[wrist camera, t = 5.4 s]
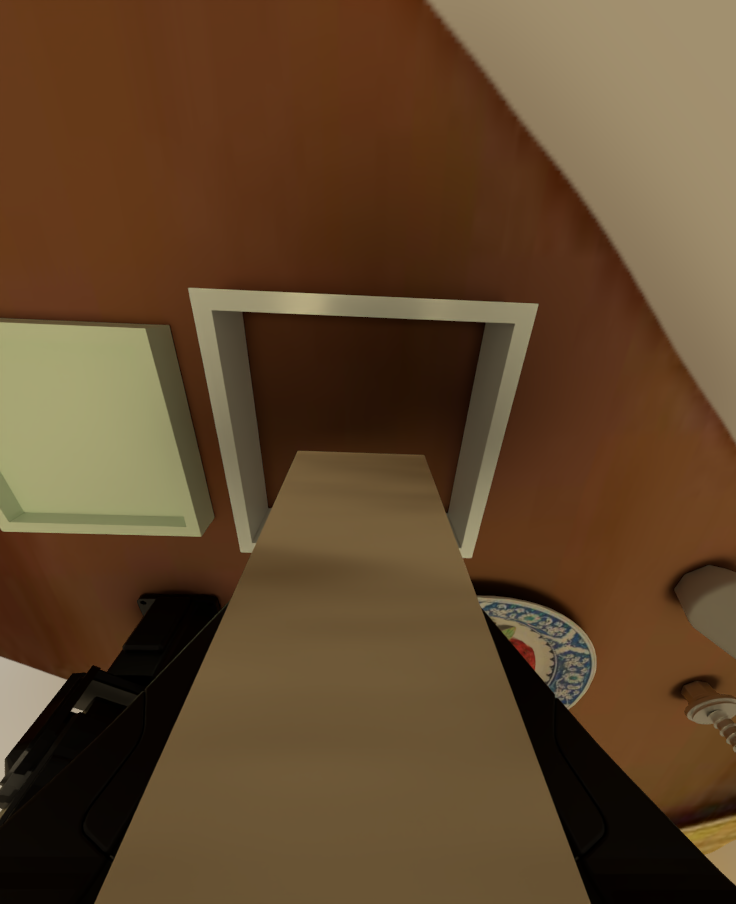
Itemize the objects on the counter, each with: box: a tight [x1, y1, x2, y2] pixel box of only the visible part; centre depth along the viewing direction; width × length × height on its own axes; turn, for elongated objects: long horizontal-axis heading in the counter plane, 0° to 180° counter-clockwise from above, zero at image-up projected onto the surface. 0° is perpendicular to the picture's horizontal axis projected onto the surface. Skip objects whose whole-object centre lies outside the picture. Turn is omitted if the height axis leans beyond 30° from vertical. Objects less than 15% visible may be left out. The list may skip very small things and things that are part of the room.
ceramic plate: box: [477, 596, 596, 709], centre depth 30 cm, size 26×26×3 cm
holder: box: [188, 288, 539, 558], centre depth 17 cm, size 15×15×4 cm
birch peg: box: [94, 451, 591, 904], centre depth 7 cm, size 4×4×10 cm
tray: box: [0, 318, 215, 537], centre depth 18 cm, size 13×13×2 cm
